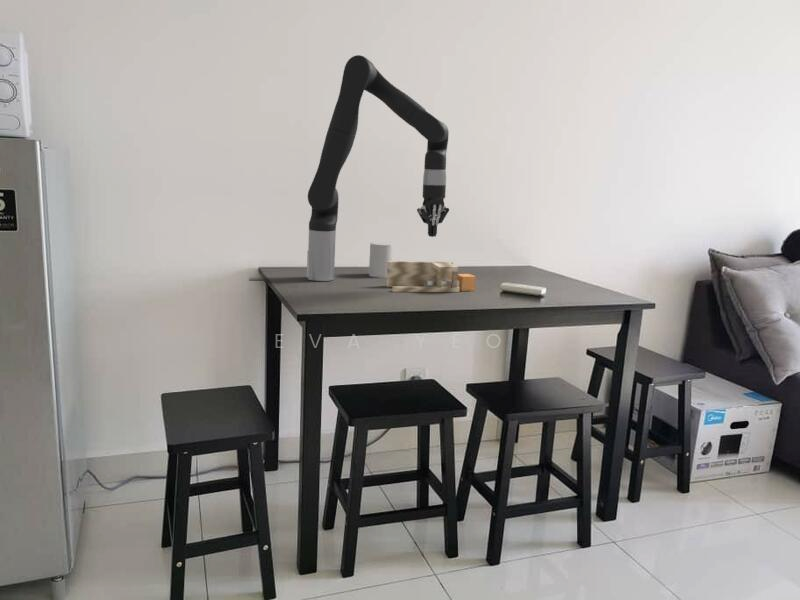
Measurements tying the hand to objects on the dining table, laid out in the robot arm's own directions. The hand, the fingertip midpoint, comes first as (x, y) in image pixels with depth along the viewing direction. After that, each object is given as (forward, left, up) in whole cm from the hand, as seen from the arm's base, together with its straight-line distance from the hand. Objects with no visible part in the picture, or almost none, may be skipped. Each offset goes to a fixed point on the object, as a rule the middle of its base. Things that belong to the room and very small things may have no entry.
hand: (432, 236), depth 210 cm
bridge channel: (-2, 0, -18) cm, 18 cm away
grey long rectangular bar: (+4, -1, -18) cm, 19 cm away
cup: (-12, +24, -18) cm, 32 cm away
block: (+13, 0, -18) cm, 22 cm away
